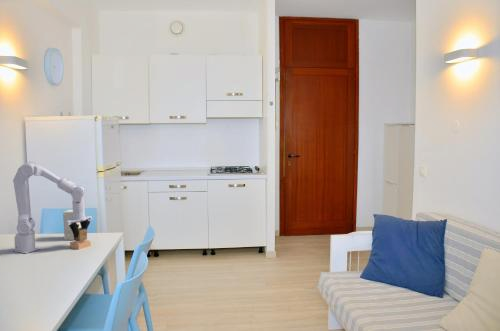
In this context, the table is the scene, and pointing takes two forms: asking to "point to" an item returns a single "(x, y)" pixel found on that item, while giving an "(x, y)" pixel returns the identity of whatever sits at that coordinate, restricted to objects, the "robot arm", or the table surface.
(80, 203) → the robot arm
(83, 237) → the walnut block
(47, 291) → the table surface
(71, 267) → the table surface
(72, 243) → the terracotta block
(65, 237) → the skincare box
